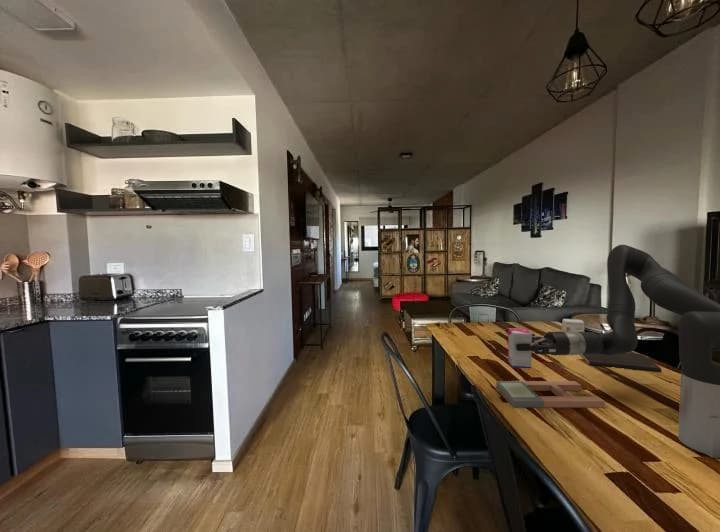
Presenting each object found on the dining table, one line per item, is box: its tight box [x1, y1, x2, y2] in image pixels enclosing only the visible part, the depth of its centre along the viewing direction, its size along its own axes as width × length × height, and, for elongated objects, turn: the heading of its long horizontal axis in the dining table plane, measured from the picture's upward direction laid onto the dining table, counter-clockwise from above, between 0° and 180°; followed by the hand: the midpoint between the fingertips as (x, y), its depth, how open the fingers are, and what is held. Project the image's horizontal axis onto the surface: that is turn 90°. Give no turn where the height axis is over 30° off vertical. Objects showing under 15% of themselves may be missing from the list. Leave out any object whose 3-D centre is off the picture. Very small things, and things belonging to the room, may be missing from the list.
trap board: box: [496, 380, 606, 409], centre depth 103 cm, size 14×27×2 cm, turn 87°
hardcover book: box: [579, 352, 662, 373], centre depth 131 cm, size 16×23×2 cm
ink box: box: [561, 318, 585, 332], centre depth 154 cm, size 9×5×12 cm, turn 67°
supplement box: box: [507, 328, 533, 369], centre depth 102 cm, size 6×6×12 cm
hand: (512, 344), depth 102 cm, fingers closed on supplement box, 6 cm apart
